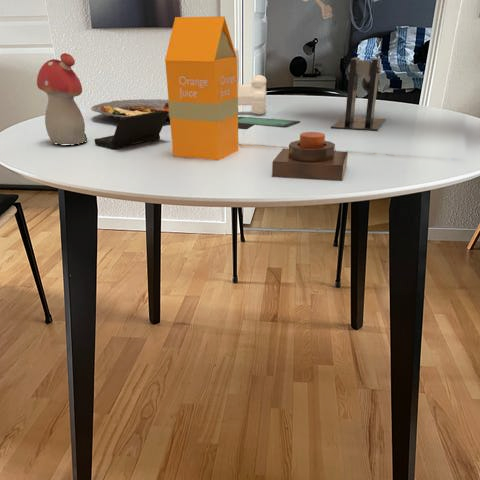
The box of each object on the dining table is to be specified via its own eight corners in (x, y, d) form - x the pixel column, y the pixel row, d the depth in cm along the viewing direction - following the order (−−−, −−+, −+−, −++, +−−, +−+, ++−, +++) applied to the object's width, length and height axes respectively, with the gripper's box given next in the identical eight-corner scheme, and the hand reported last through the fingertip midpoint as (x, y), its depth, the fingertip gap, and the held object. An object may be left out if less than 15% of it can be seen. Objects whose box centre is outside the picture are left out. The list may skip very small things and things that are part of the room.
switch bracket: (342, 122, 107) (347, 56, 101) (384, 125, 104) (393, 56, 98) (330, 133, 98) (335, 60, 91) (376, 136, 95) (386, 61, 88)
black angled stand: (130, 125, 99) (145, 84, 91) (156, 150, 99) (174, 111, 91) (88, 144, 92) (101, 102, 84) (117, 172, 92) (132, 132, 84)
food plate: (220, 115, 117) (219, 99, 116) (143, 131, 103) (141, 112, 101) (151, 105, 132) (150, 91, 130) (75, 118, 117) (72, 101, 115)
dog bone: (266, 110, 123) (267, 73, 118) (265, 116, 115) (265, 77, 111) (206, 110, 124) (204, 74, 119) (201, 116, 116) (199, 78, 112)
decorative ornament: (97, 144, 93) (82, 52, 85) (63, 149, 89) (45, 55, 81) (74, 136, 99) (59, 50, 91) (42, 141, 95) (23, 52, 87)
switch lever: (361, 93, 108) (364, 75, 107) (378, 93, 107) (381, 75, 106) (352, 77, 95) (355, 56, 94) (372, 77, 94) (375, 56, 93)
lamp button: (325, 144, 74) (326, 132, 73) (322, 150, 71) (323, 137, 70) (301, 143, 74) (302, 131, 73) (297, 149, 71) (298, 136, 70)
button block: (346, 167, 76) (349, 139, 74) (341, 181, 70) (344, 152, 68) (282, 163, 79) (283, 137, 77) (272, 177, 72) (272, 148, 70)
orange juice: (195, 146, 90) (187, 17, 79) (239, 150, 87) (237, 16, 76) (172, 156, 84) (160, 17, 73) (218, 161, 81) (213, 16, 70)
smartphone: (239, 115, 110) (301, 120, 104) (239, 121, 111) (301, 126, 104) (221, 120, 105) (285, 126, 98) (221, 127, 105) (285, 132, 99)
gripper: (284, -58, 93) (293, 22, 95) (397, -108, 83) (404, -18, 85) (296, -44, 98) (305, 31, 100) (404, -89, 88) (410, -5, 91)
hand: (351, 8), depth 93 cm, fingers open, 8 cm apart
